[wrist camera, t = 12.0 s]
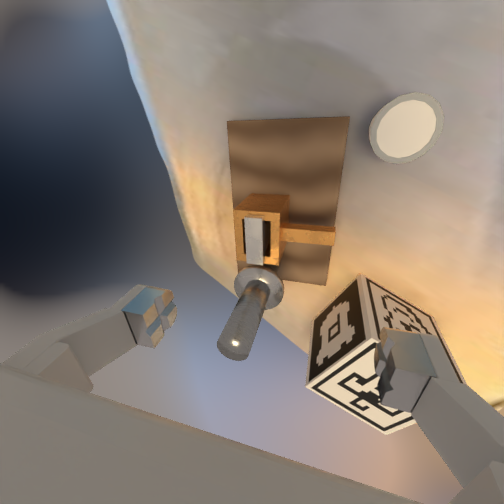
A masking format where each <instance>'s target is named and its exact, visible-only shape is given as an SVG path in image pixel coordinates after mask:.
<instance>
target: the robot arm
mask: <svg viewBox="0 0 504 504" xmlns="http://www.w3.org/2000/svg"><path fill="white" fill-rule="evenodd" d="M173 298H174V297H173V293H172V291H170V290H167V289H162V288H157V287H152V286H146V285H136V286H135V287H134V288H132V289H131V290H130V291H129V292H128V293H127V294H126V295H124V296H123V297H122V298H121V299H120V300H119V301H117V302H116V303H115V304H114V305H113V306H112V307H111V308H105V309H103V310H100V311H98V312H95V313H93V314H90V315H88V316H85V317H83V318H80V319H78V320H75V321H73V322H71V323H68V324H65V325H63V326H61V327H58V328H55V329H53V330H51V331H48V332H46V333H43V334H41V335H39V336H37V337H36V338H35V339H34V340H32V341H31V342H29V343H28V344H27V345H25V346H24V347H23V348H22V349H20V350H19V351H18V352H16V353H15V354H14V355H13V356H11V357H10V358H8V359H7V360H6V361H4V362H3V363H0V504H422V503H419V502H416V501H413V500H410V499H407V498H404V497H401V496H398V495H395V494H392V493H389V492H386V491H383V490H380V489H377V488H374V487H371V486H368V485H365V484H362V483H359V482H356V481H353V480H350V479H347V478H344V477H341V476H338V475H335V474H332V473H329V472H326V471H323V470H320V469H317V468H314V467H311V466H308V465H305V464H302V463H299V462H296V461H293V460H290V459H287V458H284V457H281V456H278V455H275V454H272V453H269V452H266V451H263V450H260V449H257V448H254V447H251V446H248V445H245V444H242V443H239V442H236V441H233V440H230V439H227V438H224V437H221V436H218V435H215V434H212V433H209V432H206V431H203V430H200V429H197V428H194V427H191V426H188V425H185V424H182V423H179V422H176V421H173V420H170V419H167V418H164V417H161V416H158V415H155V414H152V413H149V412H146V411H143V410H140V409H137V408H134V407H131V406H128V405H125V404H122V403H119V402H116V401H113V400H110V399H107V398H104V397H101V396H98V395H95V394H92V393H90V392H91V391H92V389H93V384H92V382H91V380H90V379H89V376H90V375H92V374H94V373H95V372H96V371H98V370H100V369H101V368H103V367H104V366H106V365H107V364H109V363H111V362H112V361H114V360H115V359H117V358H118V357H120V356H121V355H123V354H124V353H126V352H127V351H129V350H130V349H132V348H134V347H135V346H136V344H137V345H141V346H146V347H151V348H155V347H156V346H157V345H158V343H159V342H160V341H161V339H162V338H163V336H164V331H165V330H166V329H168V328H170V327H171V326H172V324H173V323H174V321H175V319H176V316H177V308H176V305H175V304H174V303H173V302H172V300H173ZM380 340H381V342H379V343H377V344H376V348H375V352H374V368H375V372H376V374H377V375H378V376H379V377H380V378H379V381H378V384H377V386H378V392H379V398H380V404H381V405H383V406H387V407H390V408H394V409H398V410H401V411H405V412H408V413H411V415H412V417H413V418H414V420H415V421H416V422H417V424H418V425H419V427H420V428H421V429H422V431H423V432H424V434H425V435H426V436H427V438H428V439H429V441H430V442H431V443H432V445H433V446H434V448H435V449H436V450H437V452H438V453H439V454H440V456H441V457H442V459H443V460H444V462H445V463H446V464H447V466H448V467H449V469H450V470H451V471H452V473H453V474H454V476H455V477H456V478H457V480H458V481H459V483H460V484H461V485H462V487H463V489H462V490H461V491H460V492H459V493H458V494H457V495H456V496H455V497H454V498H453V499H452V500H451V501H450V502H449V503H448V504H504V417H503V416H502V415H501V414H500V413H499V412H497V411H496V410H495V409H494V408H493V407H492V406H491V405H489V404H488V403H487V402H486V401H485V400H484V399H483V398H481V397H480V396H479V395H478V394H477V393H476V392H475V391H473V390H472V389H471V388H470V387H469V386H468V385H467V384H463V383H460V381H459V379H458V377H457V375H456V373H455V371H454V369H453V367H452V365H451V363H450V361H449V359H448V356H447V354H446V352H445V350H444V348H443V346H442V344H441V342H440V340H439V338H438V337H437V336H436V335H430V334H424V333H416V332H411V331H405V330H399V329H393V328H387V327H383V328H382V329H381V332H380Z"/></svg>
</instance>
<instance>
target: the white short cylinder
mask: <svg viewBox="0 0 504 504" xmlns="http://www.w3.org/2000/svg"><path fill="white" fill-rule="evenodd" d="M443 121H444V114H443V111H442V108H441V105H440V103H439V102H438V101H436V100H435V99H434V98H433V97H432V96H431V95H428V94H423V93H418V92H414V93H409V94H405V95H401V96H399V97H397V98H396V99H394V100H392V101H391V102H389V103H388V104H386V105H385V106H384V107H383V108H382V109H380V110H379V111H378V113H377V114H376V115H375V116H374V117H373V119H372V121H371V124H370V126H369V140H370V144H371V146H372V148H373V150H374V153H375V154H376V155H377V156H378V157H379V158H381V159H382V160H383V161H385V162H390V163H394V164H400V163H407V162H411V161H413V160H415V159H417V158H419V157H421V156H423V155H424V154H425V153H426V152H427V151H428V150H429V149H430V148H431V147H432V146H433V145H435V143H436V141H437V139H438V137H439V135H440V134H441V132H442V128H443Z"/></svg>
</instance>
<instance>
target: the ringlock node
mask: <svg viewBox="0 0 504 504" xmlns="http://www.w3.org/2000/svg"><path fill="white" fill-rule="evenodd" d="M289 201H290V195H278V194H256V193H251V194H250V195H249V196H247V197H246V198H245V199H244V200H243V201H242V202H241V203H240V204H239V205H238V206H237V207H236V208H235V209H234V210H233V216H234V229H235V242H236V256H237V260H240V261H247V260H246V241H245V222H244V217H245V216H246V215H247V214H251V215H264V221H271V241H270V243H269V245H268V247H267V249H266V251H265V262H264V264H263V265H251V266H247V267H245V268H243V269H242V270H241V271H240V272H239V273H238V275H237V277H236V278H235V281H234V288H235V292H236V294H237V296H238V297H239V300H238V302H237V304H236V306H235V308H234V310H233V312H232V314H231V316H230V318H229V320H228V322H227V324H226V326H225V328H224V329H223V331H222V333H221V335H220V337H219V339H218V341H217V347H218V349H219V351H220V352H221V353H222V354H223V355H224V356H226V357H227V358H229V359H232V360H236V361H241V360H245V359H246V358H247V357H248V355H249V352H250V350H251V347H252V344H253V341H254V338H255V335H256V333H257V330H258V327H259V324H260V321H261V318H262V316H263V313H264V310H267V309H271V308H274V307H276V306H277V305H278V304H279V303H280V302H281V300H282V298H283V294H284V284H283V282H282V280H281V278H280V277H279V275H278V274H277V273H278V270H279V267H280V260H281V257H282V255H283V252H284V249H285V246H286V244H287V242H298V243H308V244H319V245H329V246H334V240H335V233H336V232H335V227H331V226H317V225H304V224H291V223H289Z"/></svg>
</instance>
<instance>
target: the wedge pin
mask: <svg viewBox="0 0 504 504" xmlns="http://www.w3.org/2000/svg"><path fill="white" fill-rule="evenodd" d="M244 222H245V241H246V260H247V263H248V264H256V265H263V264H264V262H265V251H266V249H267V247H268V245H269V243H270V241H271V221H264V215H251V214H247V215H246V216H245V217H244Z"/></svg>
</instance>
